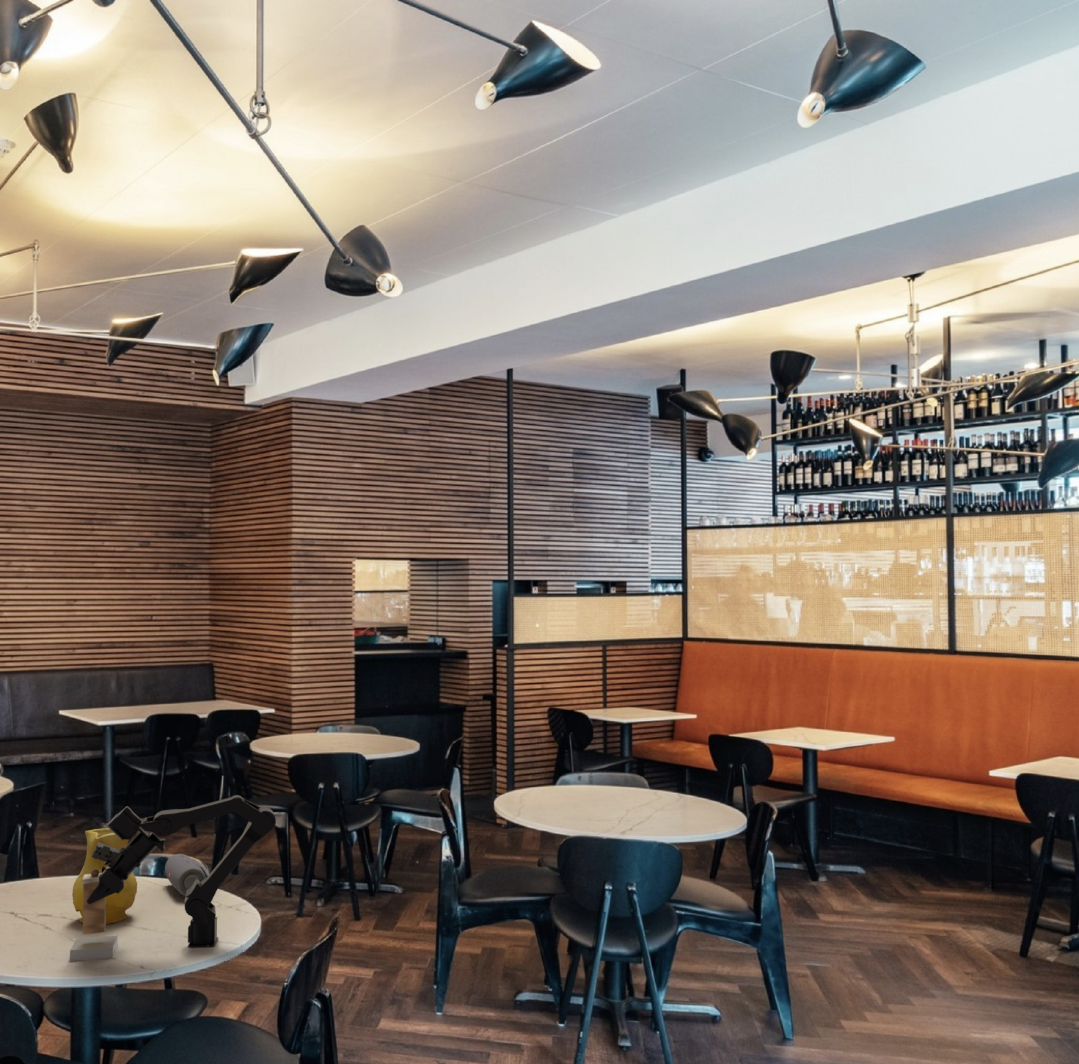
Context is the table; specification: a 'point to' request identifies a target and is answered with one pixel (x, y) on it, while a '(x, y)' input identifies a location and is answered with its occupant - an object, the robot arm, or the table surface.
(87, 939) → the stone block
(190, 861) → the bluetooth speaker
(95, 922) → the box
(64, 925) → the table surface
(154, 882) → the table surface
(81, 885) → the pitcher
